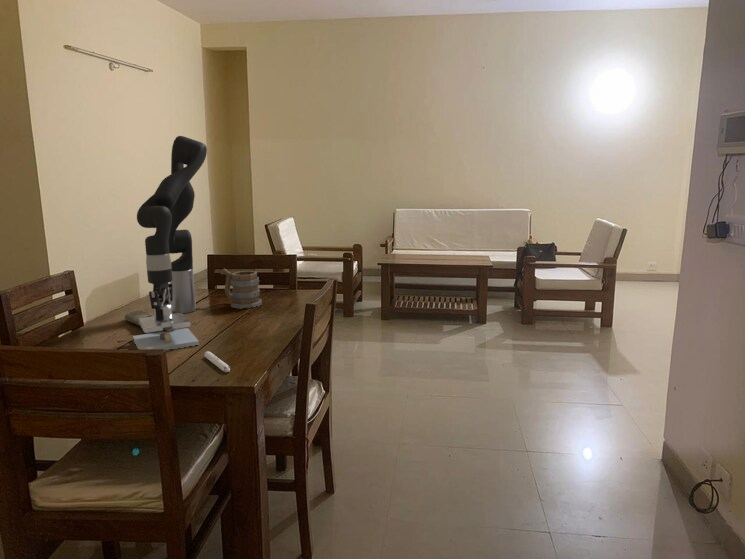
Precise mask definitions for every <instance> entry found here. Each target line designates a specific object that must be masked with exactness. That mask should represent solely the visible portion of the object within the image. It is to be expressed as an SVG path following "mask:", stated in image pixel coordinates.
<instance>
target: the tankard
mask: <svg viewBox="0 0 745 559" xmlns="http://www.w3.org/2000/svg"><path fill="white" fill-rule="evenodd" d="M219 273H220V275H225V283H224V292H225V296H226V297H227V299H229V300H231V302H230V308H234V309H238V310H244V309H243V308H247V309H252V308H251V307H255V308H257V307H256V306H258V307H261V306H262V304H263V303H262V302H263V301H262V298H259V297H260V293H261V291H260V288H259V285H260V280H259V276H258V273H257V271H256V270H255V271H253V270H241V271H240V270H239V271H235V272H230V271H229V270H228V269H226V268H223V269H221V270H220V271H219ZM231 287H232V289H231ZM260 305H261V306H260Z"/></svg>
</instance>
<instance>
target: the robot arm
mask: <svg viewBox="0 0 745 559" xmlns="http://www.w3.org/2000/svg"><path fill="white" fill-rule="evenodd" d="M207 151H208V148H207V145H206V144H205V143H203V142H201V141H198V140H196V139H193V138H189V137H186V136H184V135H178V136H176V137H175V138H174V139H173V143H172V146H171V154H170V156H171V160H170V161H171V164H170V169H171V170H170V174H169V175H167V176H166V177H164V179H162V180H161V181H160V183H159V185H158V187H157V189H156V190H155V192H154V193H153V194H152V195H150V197H149V198H148V199H147V200H146V201H144V203H143V204H141V206H140V207H139V208H138V210H137V213H136V221H137V223H138V225H140V227H142V228H144V229H155V231H154V232H155V233H154V234H153V235H149V236H147V237H145V240H144V242H145V243H144V245H145V256H146V258H145V260H146V261H145V262H146V263H145V264H146V276H147V282H148V284H152V285H153V286H152V287H153V288H152V291H149V292H148V295H149V301H150V307H151V309H152V310H154V309H155V311H156V320H157V321H162V320H164V315H163V303H169V304H172V313H173V314H176V313H183V314H186V313H192V312H195V311H196V310H197V303H196V302H197V301H196V290H195V279H194V278H195V277H194V264H193V263H194V258H193V239H192V234H191V232H190V230H188V229H178V227H179V226H180V225H181V224H182V222H184V220H185V219H186V218H187V217H188V216H189V215H190V214H191V213H192V211H193V208H194V203H195V198H196V197H195V196H196V195H195V190H194V188H193V186H192V183H191V180H192V179H193V177H194V176H195V175H196V174H197V172H198V171H199V170H200V169H201V167H202V166H203V164H204V163H205V160H206V157H207ZM184 165H186V166H185V167H184ZM170 254H172V255H173V254H181V255H180V257H178V258H176V259H175V260H173V261H171V255H170Z"/></svg>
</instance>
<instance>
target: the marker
mask: <svg viewBox="0 0 745 559" xmlns="http://www.w3.org/2000/svg"><path fill="white" fill-rule="evenodd" d="M204 358H206V359H207V360H209V361H210V362H211V363H212V364H213V365H215V366H216V367H217V368H218V369H219V370H221V371H222V372H224V373H230V370H231V366H229V365H228V364H227V363H226V362H224V361H223V360H221V359H220V358H219V357H218V356H216V355H215V354H214V353H212V352H211V351H204Z"/></svg>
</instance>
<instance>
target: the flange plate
mask: <svg viewBox="0 0 745 559" xmlns="http://www.w3.org/2000/svg"><path fill="white" fill-rule="evenodd" d="M153 311H154V312H153V314H154V316H153V317H146V318H139V324H140V325H141V326H140V328H141V329H142V331H143V332H144V334H149V333H156V332H163V331H164V330H163V328H164V327H172V328H173V329H172V330H177V329H184V328H189V327H191V321H190V319H189V318H187V317H186V316H185V313H173V310H172V303H171V304H169V303H163V315H164V320H162V321H157V320H156V311H155V309H153Z"/></svg>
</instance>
